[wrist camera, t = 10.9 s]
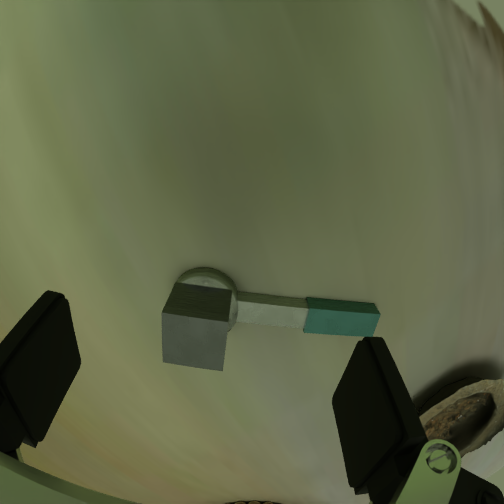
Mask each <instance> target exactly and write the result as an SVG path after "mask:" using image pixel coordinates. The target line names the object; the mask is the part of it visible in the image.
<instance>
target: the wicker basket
mask: <svg viewBox="0 0 504 504" xmlns="http://www.w3.org/2000/svg"><path fill="white" fill-rule="evenodd" d="M267 503H268V504H273V503H272V502H265V503H263V504H267ZM226 504H230V503H226ZM235 504H246V503H245V502H242V501H239V502H236V503H235ZM248 504H260V502H258V501H251V502H249V503H248Z"/></svg>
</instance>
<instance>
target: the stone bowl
mask: <svg viewBox="0 0 504 504" xmlns="http://www.w3.org/2000/svg"><path fill="white" fill-rule="evenodd" d="M460 415H462V417H461V418H459V419H458V417H459V416H460ZM418 416H419V418H420V421H421V423H422V426H423V428H424V430H425V433H426V435H427V438H428V441H431V440H435V439H442V440H445V441H448V442H449V443H451V444H452V445H454V447H455V448H456V449H457V450H458V452H459V454H460V456H461V458H462V457H463V456H464V455H465V454H466V453H468V452H472V451H474V450H476V449H478V448H480V447H481V446H482V445H486V444H487V442H488V441H491V439H492V438H493V437H494V436H495V435H496V434H497V433H498V432H500V431H502V430H503V428H504V380H503V379H498V380H488V379H486V380H482V379H480V378H476V377H468V378H465V379H464V380H461V381H458V382H455V383H453V384H450V385H446V386H444V387H443V388H441V390H440V391H439V392H438V393H437V394H436V395H434V396H433V397H432V398H431V399H429V400H428V401H427V402H426V403H425V404H424V406H423V407H422V409H421V411H420V413H419V415H418ZM455 421H456V422H455Z"/></svg>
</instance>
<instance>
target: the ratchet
mask: <svg viewBox="0 0 504 504" xmlns="http://www.w3.org/2000/svg"><path fill="white" fill-rule="evenodd" d="M177 282H179V283H186V284H193V285H201V286H208V287H215V288H223V289H231V290H232V298H231V306H230V314H229V323H228V331H230V330H231V329H232V327H233V326H234V324H235V323H236V322H245V323H253V324H262V325H272V326H282V327H292V328H303V331H304V333H316V334H330V335H345V336H363V337H366V336H368V337H372V336H373V333H374V331H375V328H376V325H377V323H378V320H379V317H380V315H381V314H380V312H379V311H378V309H377V307H376V306H375V304H374V303H363V302H352V301H341V300H331V299H321V298H311V297H307V299H299V298H290V297H281V296H272V295H263V294H255V293H247V292H239V291H238V290H237V287H236V285H235V284H234V282H233V281H232V280H231V279H230V278H229V277H228V276H227V275H226V274H224V273H223V272H221V271H219V270H216V269H213V268H207V267H199V268H194V269H191V270H189V271H187V272H185V273H184V274H182V275H181V276H180V277H179V279H178V280H177ZM228 331H227V332H228Z"/></svg>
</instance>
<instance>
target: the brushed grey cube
mask: <svg viewBox="0 0 504 504" xmlns="http://www.w3.org/2000/svg"><path fill="white" fill-rule="evenodd" d="M231 298H232V290H231V289H223V288H215V287H208V286H201V285H193V284H186V283H179V282H176V283H175V285H174V287H173V289H172V291H171V293H170V296H169V298H168V300H167V302H166V304H165V306H164V309H163V311H162V351H163V362H165V363H171V364H177V365H183V366H190V367H196V368H203V369H210V370H218V371H223V364H224V356H225V348H226V339H227V331H228V323H229V314H230V306H231Z"/></svg>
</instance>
